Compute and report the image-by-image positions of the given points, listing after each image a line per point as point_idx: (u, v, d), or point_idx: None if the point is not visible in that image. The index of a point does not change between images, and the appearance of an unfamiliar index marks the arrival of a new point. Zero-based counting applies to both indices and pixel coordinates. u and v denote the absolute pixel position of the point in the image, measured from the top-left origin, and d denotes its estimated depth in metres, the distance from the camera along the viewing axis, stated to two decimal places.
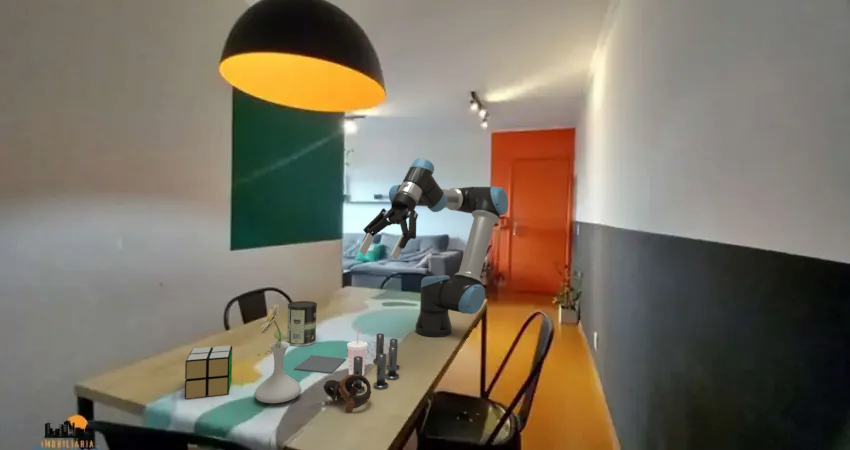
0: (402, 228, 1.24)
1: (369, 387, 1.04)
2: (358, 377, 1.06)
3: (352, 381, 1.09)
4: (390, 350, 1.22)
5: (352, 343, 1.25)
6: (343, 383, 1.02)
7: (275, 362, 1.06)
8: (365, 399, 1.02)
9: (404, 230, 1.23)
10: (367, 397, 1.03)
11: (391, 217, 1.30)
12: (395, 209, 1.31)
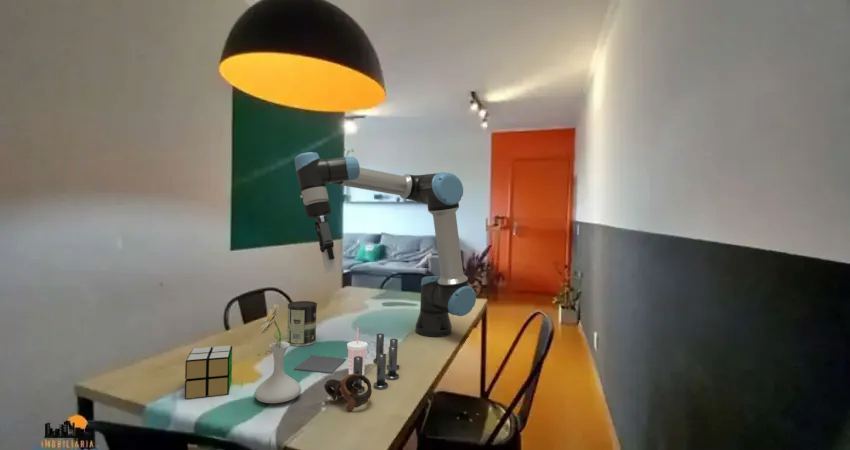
0: (322, 241, 1.20)
1: (370, 386, 1.04)
2: (359, 376, 1.06)
3: (353, 380, 1.09)
4: (390, 350, 1.22)
5: (352, 343, 1.25)
6: (344, 382, 1.03)
7: (275, 362, 1.06)
8: (366, 398, 1.03)
9: (323, 242, 1.19)
10: (368, 396, 1.03)
11: None
12: (316, 220, 1.27)
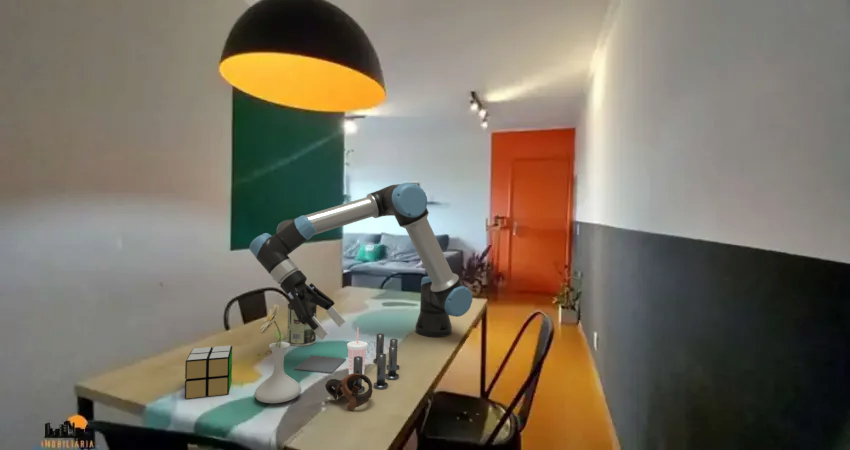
0: None
1: (371, 386, 1.05)
2: (359, 376, 1.07)
3: (353, 380, 1.09)
4: (390, 350, 1.22)
5: (352, 343, 1.25)
6: (345, 382, 1.03)
7: (275, 362, 1.06)
8: (367, 398, 1.03)
9: None
10: (369, 396, 1.04)
11: None
12: None
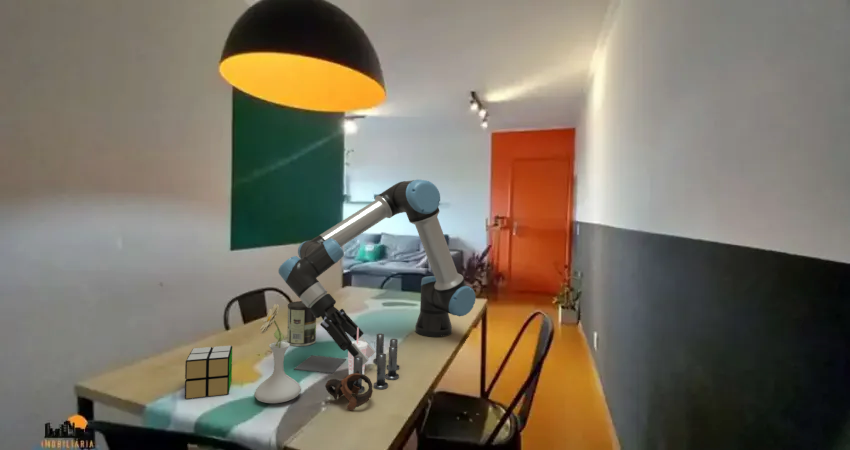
0: None
1: (371, 386, 1.05)
2: (360, 376, 1.07)
3: (353, 380, 1.09)
4: (390, 350, 1.22)
5: (352, 343, 1.25)
6: (345, 382, 1.03)
7: (275, 362, 1.06)
8: (367, 398, 1.03)
9: None
10: (369, 396, 1.04)
11: None
12: None
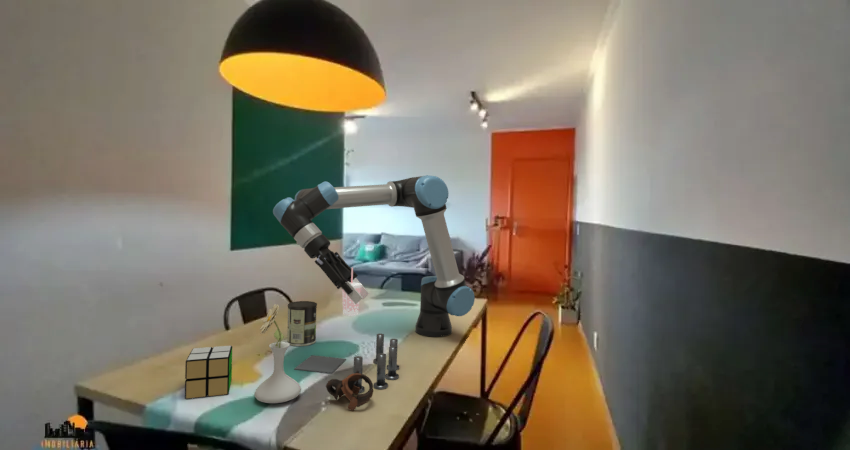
0: None
1: (371, 386, 1.05)
2: (360, 376, 1.07)
3: (354, 380, 1.09)
4: (390, 350, 1.22)
5: None
6: (346, 382, 1.03)
7: (275, 362, 1.06)
8: (368, 398, 1.03)
9: None
10: (369, 396, 1.04)
11: None
12: None
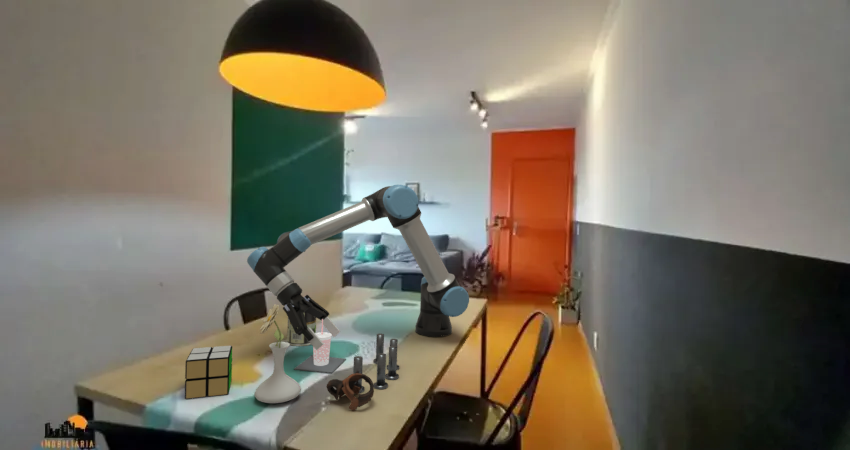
0: None
1: (372, 386, 1.05)
2: (361, 376, 1.07)
3: (354, 380, 1.09)
4: (390, 350, 1.22)
5: (317, 334, 1.31)
6: (346, 382, 1.03)
7: (275, 362, 1.06)
8: (368, 397, 1.03)
9: None
10: (370, 395, 1.04)
11: None
12: None
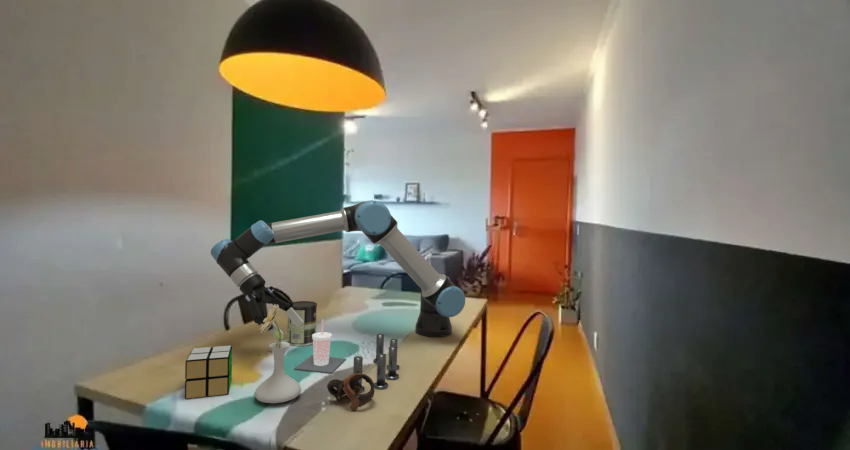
0: None
1: (373, 385, 1.05)
2: (361, 376, 1.07)
3: (355, 380, 1.09)
4: (390, 350, 1.22)
5: (317, 334, 1.31)
6: (347, 382, 1.03)
7: (275, 362, 1.06)
8: (369, 397, 1.03)
9: None
10: (371, 395, 1.04)
11: None
12: None
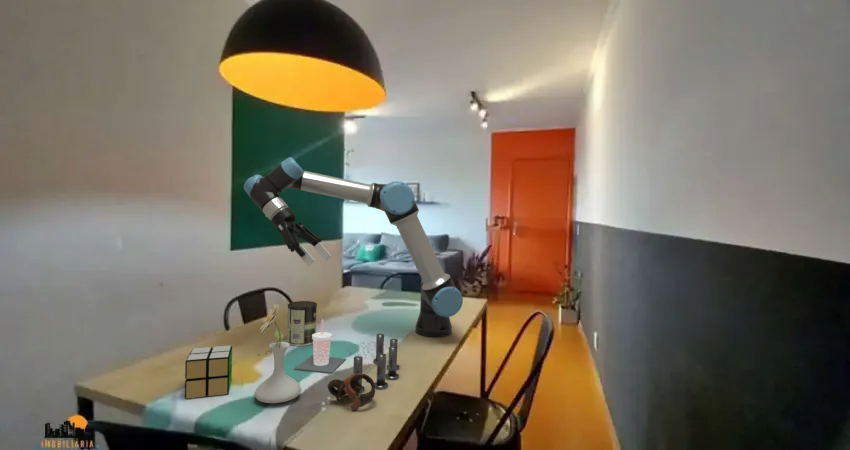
0: None
1: (374, 385, 1.05)
2: (362, 376, 1.07)
3: (355, 380, 1.09)
4: (390, 350, 1.22)
5: (317, 334, 1.31)
6: (348, 382, 1.03)
7: (275, 362, 1.06)
8: (370, 397, 1.03)
9: None
10: (372, 395, 1.04)
11: None
12: None
